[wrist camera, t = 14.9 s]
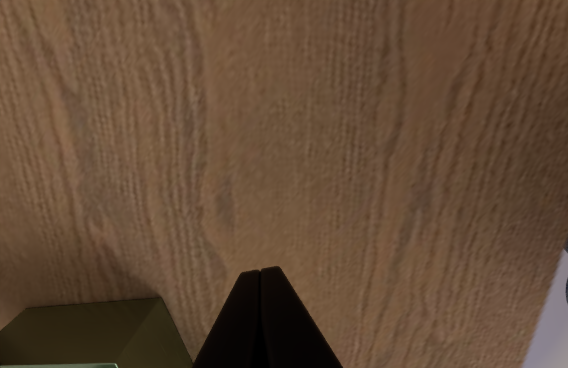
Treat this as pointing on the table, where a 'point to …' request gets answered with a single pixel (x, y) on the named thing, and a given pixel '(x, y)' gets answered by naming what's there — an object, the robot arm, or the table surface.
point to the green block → (94, 337)
